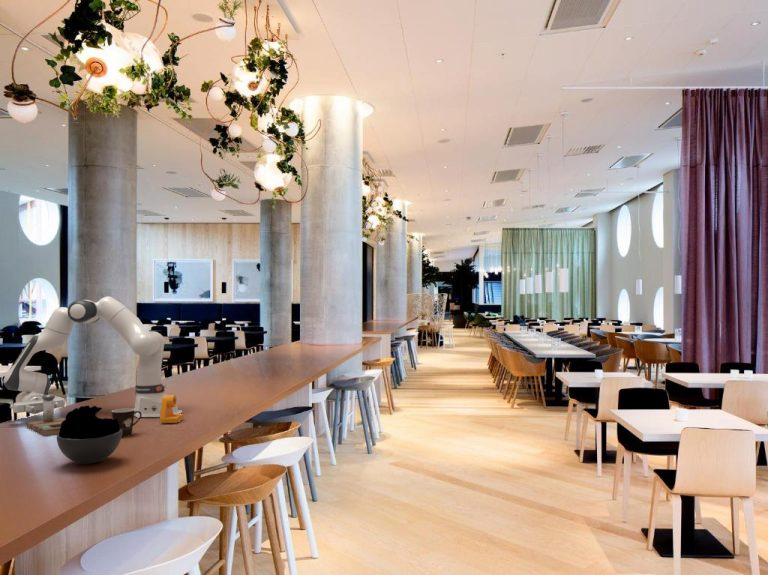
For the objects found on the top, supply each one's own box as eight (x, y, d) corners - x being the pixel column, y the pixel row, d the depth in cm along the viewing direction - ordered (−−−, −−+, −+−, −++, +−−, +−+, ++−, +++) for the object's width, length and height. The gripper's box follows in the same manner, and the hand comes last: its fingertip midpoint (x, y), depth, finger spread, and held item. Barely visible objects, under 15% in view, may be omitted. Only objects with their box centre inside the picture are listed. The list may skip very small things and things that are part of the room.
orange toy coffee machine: (176, 424, 273) (176, 397, 273) (159, 424, 273) (159, 397, 273) (184, 419, 283) (184, 393, 284) (168, 419, 283) (168, 393, 284)
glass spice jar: (57, 420, 270) (57, 394, 270) (49, 422, 265) (49, 396, 265) (47, 420, 271) (47, 394, 271) (39, 422, 266) (39, 396, 266)
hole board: (26, 427, 267) (26, 421, 267) (61, 422, 277) (61, 416, 277) (44, 436, 250) (44, 429, 250) (81, 431, 260) (81, 424, 260)
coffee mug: (112, 438, 246) (112, 413, 246) (110, 434, 253) (110, 409, 254) (143, 435, 251) (143, 410, 251) (141, 431, 259) (141, 407, 259)
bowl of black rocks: (92, 453, 223) (92, 400, 223) (135, 458, 215) (135, 403, 215) (42, 467, 204) (42, 409, 205) (87, 473, 197) (87, 414, 197)
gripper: (8, 399, 274) (17, 403, 265) (58, 394, 289) (69, 397, 279) (8, 413, 274) (18, 418, 264) (58, 407, 289) (69, 411, 279)
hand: (44, 407), depth 272 cm, fingers open, 8 cm apart
